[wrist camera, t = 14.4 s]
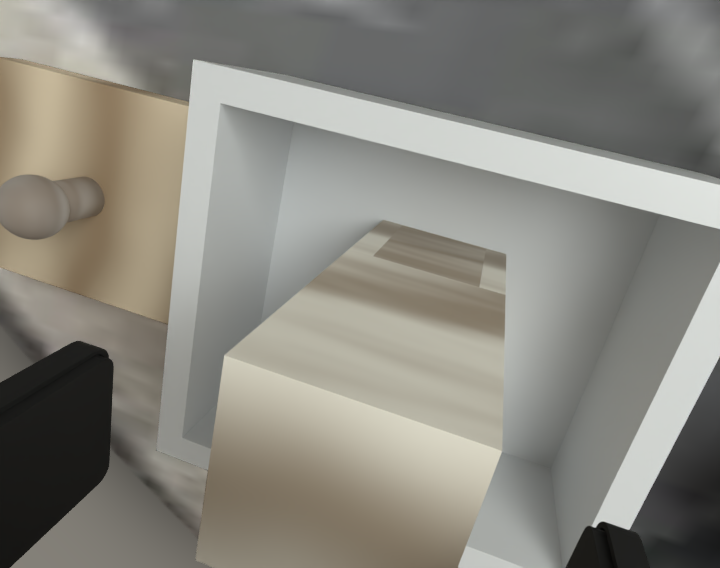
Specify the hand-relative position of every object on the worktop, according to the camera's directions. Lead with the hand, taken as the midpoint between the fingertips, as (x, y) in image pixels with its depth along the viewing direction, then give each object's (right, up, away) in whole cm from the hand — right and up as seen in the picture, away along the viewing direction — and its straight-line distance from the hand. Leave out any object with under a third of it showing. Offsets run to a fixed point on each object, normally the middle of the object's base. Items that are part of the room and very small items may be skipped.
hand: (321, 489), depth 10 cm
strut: (+3, +3, +12) cm, 13 cm away
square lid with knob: (-11, +8, +16) cm, 21 cm away
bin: (+4, +4, +13) cm, 14 cm away
